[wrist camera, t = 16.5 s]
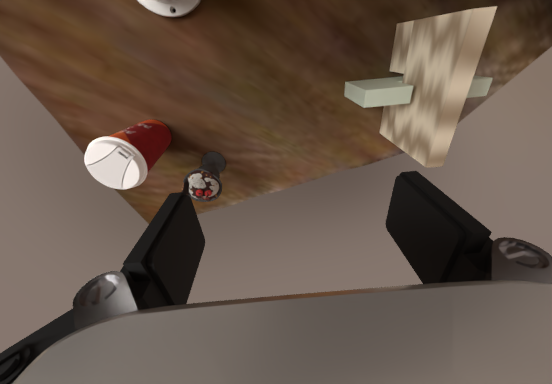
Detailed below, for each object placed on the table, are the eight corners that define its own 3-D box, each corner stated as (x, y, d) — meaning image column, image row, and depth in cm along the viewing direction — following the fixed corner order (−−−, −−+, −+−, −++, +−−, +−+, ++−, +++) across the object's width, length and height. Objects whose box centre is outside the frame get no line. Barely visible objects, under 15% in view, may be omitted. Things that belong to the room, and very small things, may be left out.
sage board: (345, 81, 41) (365, 90, 32) (445, 71, 41) (493, 77, 32) (344, 96, 42) (363, 107, 34) (441, 86, 42) (486, 95, 33)
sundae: (235, 160, 48) (224, 199, 36) (218, 181, 51) (202, 225, 38) (208, 141, 46) (186, 176, 33) (192, 164, 49) (165, 205, 36)
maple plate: (397, 23, 37) (473, 8, 23) (412, 22, 37) (497, 6, 23) (379, 133, 46) (426, 167, 33) (391, 131, 46) (442, 166, 33)
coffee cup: (148, 103, 42) (97, 127, 29) (186, 135, 45) (154, 169, 32) (125, 134, 45) (68, 167, 32) (162, 161, 48) (124, 202, 35)
